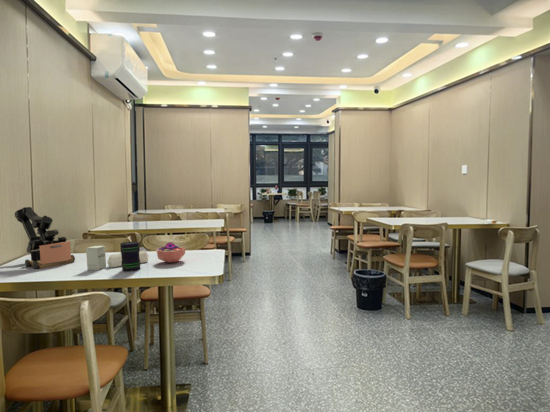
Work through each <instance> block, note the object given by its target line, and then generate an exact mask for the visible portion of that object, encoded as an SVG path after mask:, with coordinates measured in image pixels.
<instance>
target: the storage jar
mask: <svg viewBox="0 0 550 412" xmlns="http://www.w3.org/2000/svg"><path fill="white" fill-rule="evenodd" d="M119 245H120V254H121V255H122V261H121V263H122V266H121V271H122V272H124V273H125V272H126V273H127V272H130V273H131V272H136V271H140V270H141V269H142V268H141V263H140V259H139V252H140V251H141V250H140V242H139V241H124V242H121V243H120V244H119Z"/></svg>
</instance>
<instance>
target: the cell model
mask: <svg viewBox="0 0 550 412" xmlns="http://www.w3.org/2000/svg"><path fill="white" fill-rule="evenodd" d="M155 251H156V257H157V259H158V260H160V261H162V262H166V263H168V264H169V263H177V262H179V261H180V260H182V258H183V257H184V256H185V254H186V247H185V246H182V245H176V244H175V243H174V242H168V243H165V245H164V246H161V247H157V248H156V249H155Z"/></svg>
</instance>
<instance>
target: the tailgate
mask: <svg viewBox="0 0 550 412" xmlns="http://www.w3.org/2000/svg"><path fill="white" fill-rule="evenodd" d="M39 247H40V249H39V250H40V259H41V264H47V263H53V262H58V261H64V260H70V259H71V255H72V251H71V250H72V249H71V241H69V240H68V241H66V242H62V243H55V244H48V245H41V246H39Z"/></svg>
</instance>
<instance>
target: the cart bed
mask: <svg viewBox="0 0 550 412" xmlns="http://www.w3.org/2000/svg"><path fill="white" fill-rule="evenodd" d="M75 260H76V257H75V255H74V254H71V259H70V260H64V261H58V262H53V263H47V264H41V260H40V261H31V259H25V260H24V265H25V267H26V268H29V267H31V268H33V269H35V270H37V269H39V270H40V269H42V270H43V269H47V268H52V267H57V266H58V265H59V266H63V264H64V265H68V264H69V265H70V264H74V262H75Z"/></svg>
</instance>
